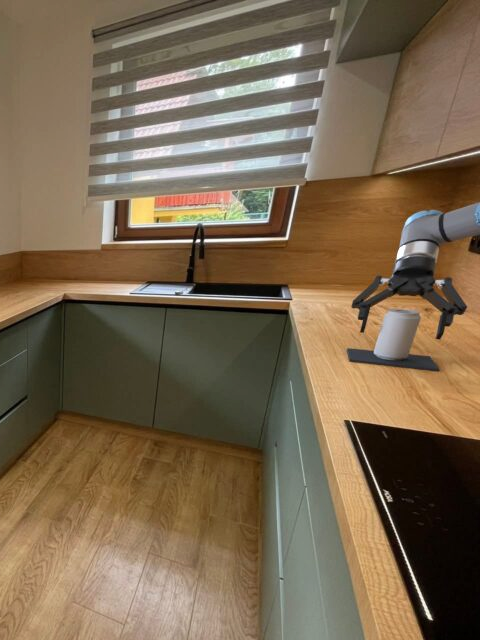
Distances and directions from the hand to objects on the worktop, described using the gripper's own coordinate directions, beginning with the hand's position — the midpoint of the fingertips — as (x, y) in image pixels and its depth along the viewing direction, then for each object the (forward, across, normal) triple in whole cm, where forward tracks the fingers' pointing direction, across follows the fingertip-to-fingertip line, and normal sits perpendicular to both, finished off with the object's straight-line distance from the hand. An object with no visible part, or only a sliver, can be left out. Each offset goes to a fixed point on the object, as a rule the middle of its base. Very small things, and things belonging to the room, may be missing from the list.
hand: (399, 333), depth 105 cm
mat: (+4, 0, -6) cm, 8 cm away
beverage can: (+4, 0, -6) cm, 7 cm away
